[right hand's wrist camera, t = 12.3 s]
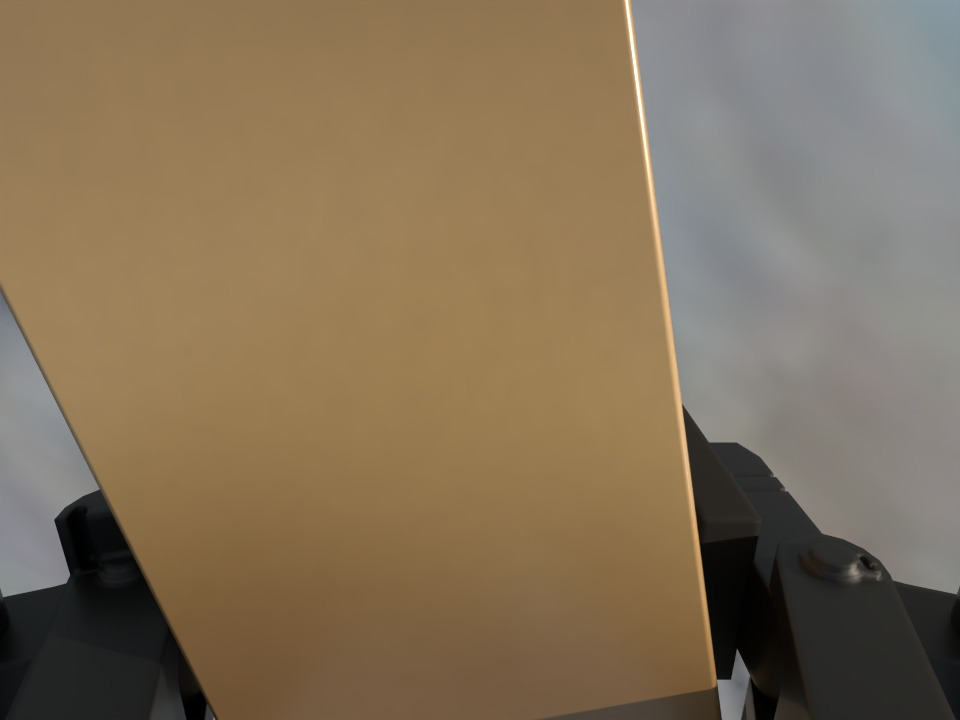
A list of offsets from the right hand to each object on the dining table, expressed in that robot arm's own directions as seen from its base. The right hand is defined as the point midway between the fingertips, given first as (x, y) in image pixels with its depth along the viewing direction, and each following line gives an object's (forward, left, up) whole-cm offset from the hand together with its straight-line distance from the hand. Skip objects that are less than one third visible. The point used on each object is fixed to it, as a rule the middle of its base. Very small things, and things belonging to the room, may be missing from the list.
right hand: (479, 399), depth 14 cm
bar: (+8, +10, -1) cm, 13 cm away
